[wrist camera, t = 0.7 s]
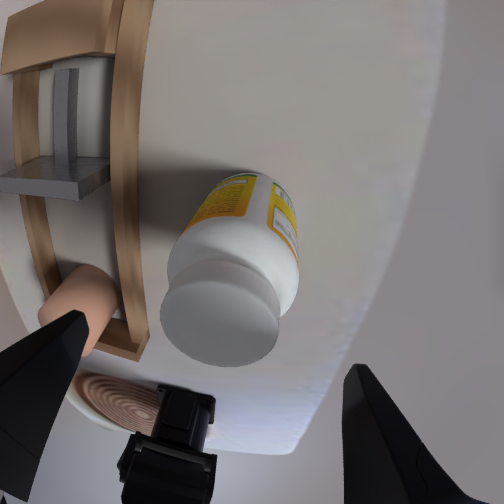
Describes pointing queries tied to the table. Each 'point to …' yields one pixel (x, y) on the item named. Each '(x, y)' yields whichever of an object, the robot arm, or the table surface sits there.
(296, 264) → the supplement bottle
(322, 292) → the table surface
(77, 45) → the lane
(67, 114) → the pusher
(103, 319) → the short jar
